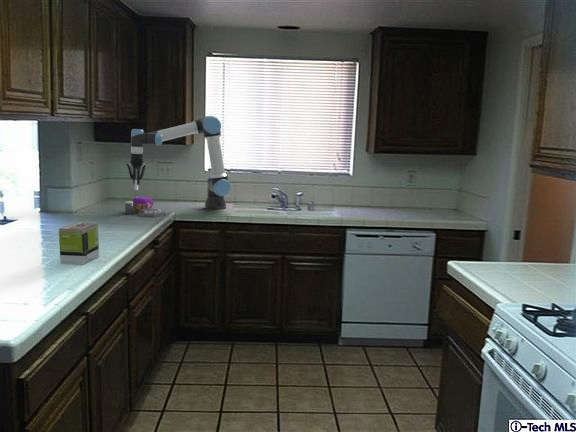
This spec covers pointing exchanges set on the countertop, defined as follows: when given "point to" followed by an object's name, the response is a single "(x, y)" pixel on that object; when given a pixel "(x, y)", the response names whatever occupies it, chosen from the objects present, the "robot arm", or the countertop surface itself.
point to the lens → (129, 208)
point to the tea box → (78, 243)
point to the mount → (151, 212)
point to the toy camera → (143, 201)
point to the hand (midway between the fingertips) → (136, 189)
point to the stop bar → (138, 207)
